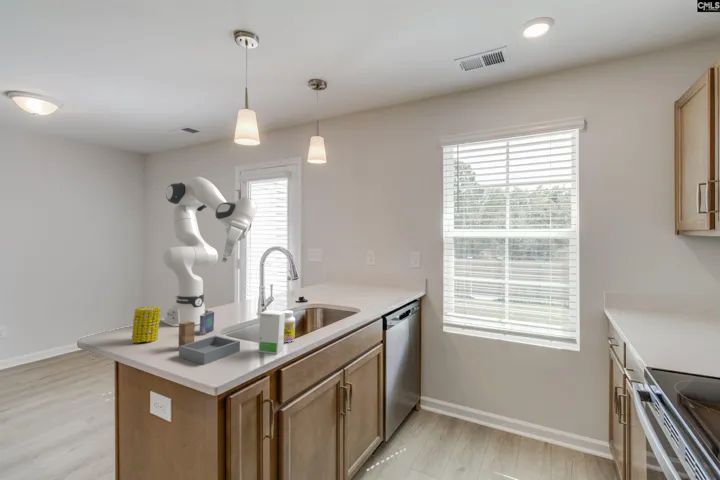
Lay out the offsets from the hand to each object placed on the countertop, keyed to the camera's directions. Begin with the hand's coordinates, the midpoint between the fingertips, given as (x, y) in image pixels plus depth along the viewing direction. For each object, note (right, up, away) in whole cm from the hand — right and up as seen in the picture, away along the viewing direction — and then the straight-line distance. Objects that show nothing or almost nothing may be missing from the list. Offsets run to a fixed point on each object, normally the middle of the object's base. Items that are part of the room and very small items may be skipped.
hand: (224, 258), depth 142 cm
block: (-13, -35, -7) cm, 38 cm away
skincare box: (+22, -36, -8) cm, 43 cm away
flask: (-14, -35, +14) cm, 41 cm away
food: (-34, -35, +1) cm, 48 cm away
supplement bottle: (+25, -36, +5) cm, 44 cm away
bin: (0, -36, -13) cm, 38 cm away
